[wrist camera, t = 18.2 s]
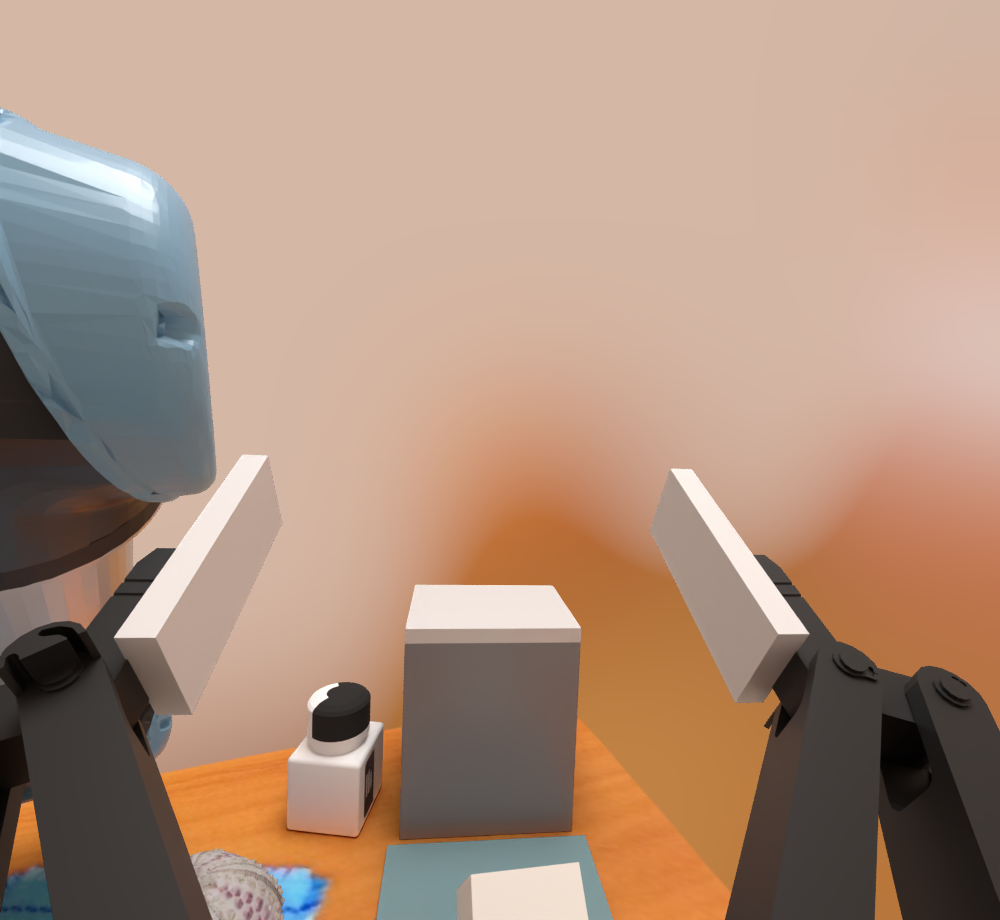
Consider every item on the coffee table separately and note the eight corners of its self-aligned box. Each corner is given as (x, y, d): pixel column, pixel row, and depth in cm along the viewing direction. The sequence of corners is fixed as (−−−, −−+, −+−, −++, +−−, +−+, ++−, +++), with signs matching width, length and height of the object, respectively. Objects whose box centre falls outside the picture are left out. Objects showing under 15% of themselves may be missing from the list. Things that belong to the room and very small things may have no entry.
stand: (571, 831, 51) (581, 628, 50) (399, 839, 49) (405, 628, 48) (545, 745, 65) (552, 585, 64) (410, 749, 63) (415, 584, 62)
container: (382, 784, 57) (385, 677, 56) (357, 839, 49) (360, 715, 48) (319, 778, 57) (321, 672, 57) (285, 831, 50) (287, 709, 49)
